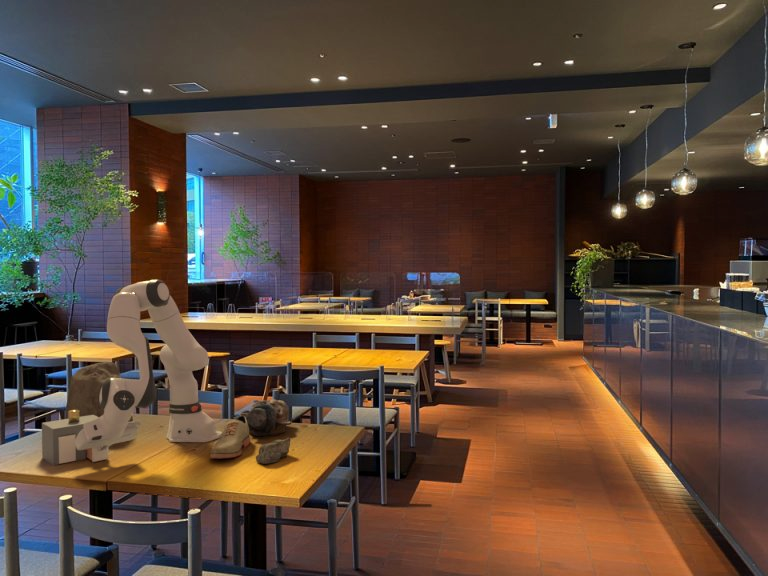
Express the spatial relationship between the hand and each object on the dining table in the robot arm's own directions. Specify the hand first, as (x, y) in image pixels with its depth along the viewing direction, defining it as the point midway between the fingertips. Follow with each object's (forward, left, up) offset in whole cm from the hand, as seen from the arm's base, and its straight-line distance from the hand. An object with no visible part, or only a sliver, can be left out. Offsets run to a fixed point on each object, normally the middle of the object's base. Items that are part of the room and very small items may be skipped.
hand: (101, 448), depth 216 cm
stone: (+30, -38, -5) cm, 49 cm away
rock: (-59, -18, -5) cm, 62 cm away
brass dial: (+15, -3, +8) cm, 17 cm away
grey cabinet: (+15, -3, -5) cm, 16 cm away
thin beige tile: (+16, +1, -4) cm, 17 cm away
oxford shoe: (-39, -22, -5) cm, 45 cm away
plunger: (+6, -3, -4) cm, 8 cm away
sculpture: (-39, -53, -5) cm, 66 cm away
